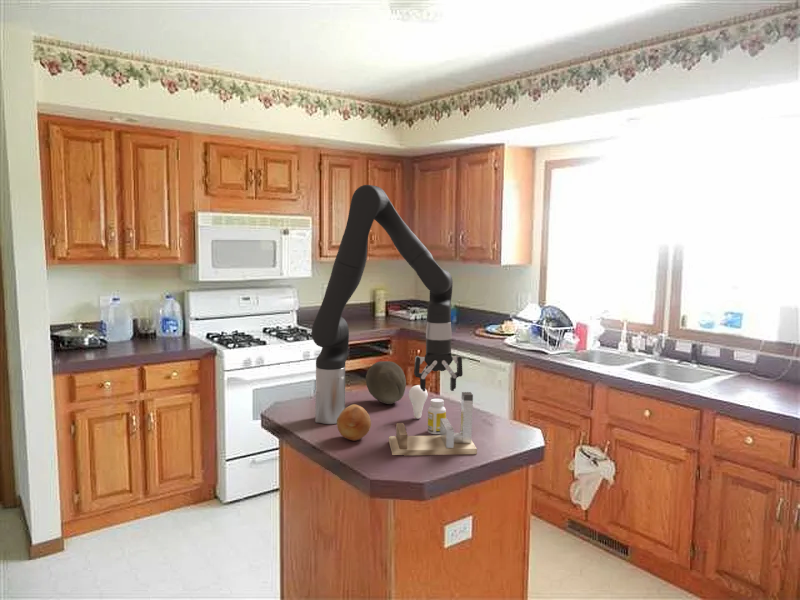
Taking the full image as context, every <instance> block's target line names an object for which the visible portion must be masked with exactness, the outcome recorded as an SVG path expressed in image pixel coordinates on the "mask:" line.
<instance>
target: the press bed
mask: <svg viewBox="0 0 800 600" xmlns="http://www.w3.org/2000/svg"><path fill="white" fill-rule="evenodd" d="M395 426H396V427H395V428H396V431H395V432H396V433H395V434H396V436H395V435H393V436H392V435H390V436H388V443H389V446H390V451H391V455H404V456H445V455H450V456H451V455H477V453H478V448H477V447H476V445H475V443H474V442H473V440H471V443H454V446H453V448H446V447H445V445H444V443H443V441H442V439H441V437H440V434H437V435H408V433H407V429H406V427H405V424H404V422H396V425H395Z"/></svg>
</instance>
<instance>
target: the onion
mask: <svg viewBox="0 0 800 600" xmlns="http://www.w3.org/2000/svg"><path fill="white" fill-rule="evenodd" d="M336 427H337V429H338V432H339V433H340V435H341V436H342V437H343V438H344V439H347V440H350V441H353V442H356V441H359V440H361V439H362V438H364V437H365V436H367V435H368V433H369V432H370V429H371V427H372V420H371V417H370V414H369V413H368V411H367V410H366V409H365V408H364V407H363V406H361V405H359V404H355V403H353V404H350V405H349V406H347V407H346V406H345V409H344V410H343V411H342V412H341V413H340V415H339V417H338V418H337V423H336Z"/></svg>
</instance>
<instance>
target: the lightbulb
mask: <svg viewBox="0 0 800 600" xmlns="http://www.w3.org/2000/svg"><path fill="white" fill-rule="evenodd" d="M428 396H429V395H428V391H427V389H425V391H423V390H422V389H421V388H420V384H417V385H413V386H412V387H410V389H409V391H408V398H409V401H410V403H411V405H412V410H413V417H414V418H415V419H416V420H418V419H420V418H422V414H423V410H424V405H425V403H426V401H427V400H428Z"/></svg>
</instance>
